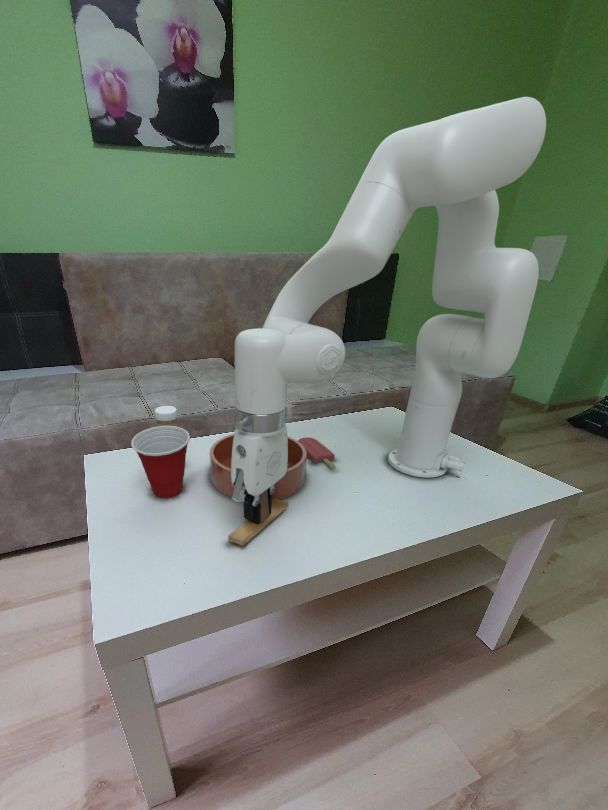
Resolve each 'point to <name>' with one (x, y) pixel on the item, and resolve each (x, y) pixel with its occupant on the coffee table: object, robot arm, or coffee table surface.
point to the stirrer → (252, 529)
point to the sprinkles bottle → (166, 416)
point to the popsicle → (317, 451)
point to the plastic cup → (163, 458)
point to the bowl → (282, 488)
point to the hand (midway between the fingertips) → (257, 515)
